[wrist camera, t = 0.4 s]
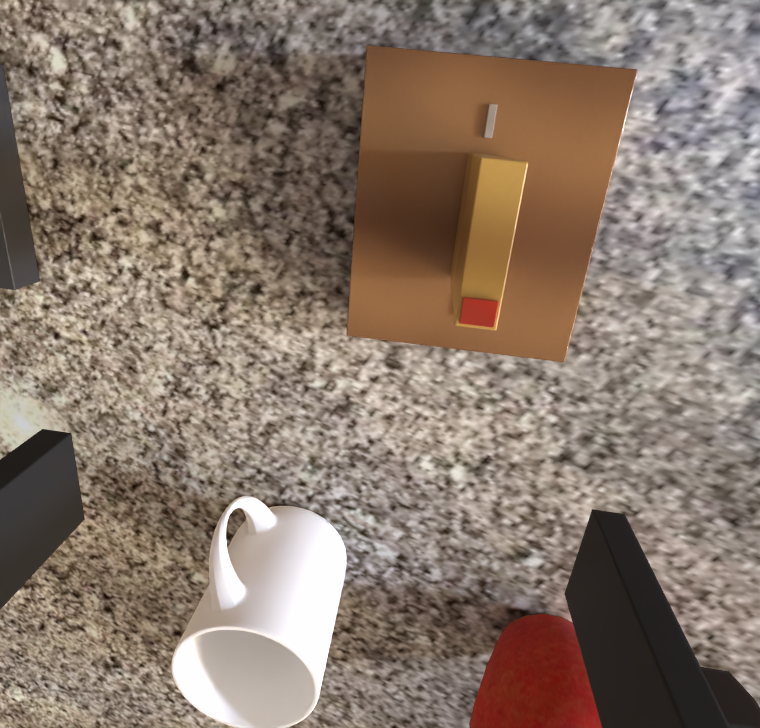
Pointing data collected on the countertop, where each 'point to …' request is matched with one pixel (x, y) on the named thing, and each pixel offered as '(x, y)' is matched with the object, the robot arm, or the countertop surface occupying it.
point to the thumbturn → (485, 237)
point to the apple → (536, 679)
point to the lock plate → (445, 186)
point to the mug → (263, 618)
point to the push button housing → (13, 207)
